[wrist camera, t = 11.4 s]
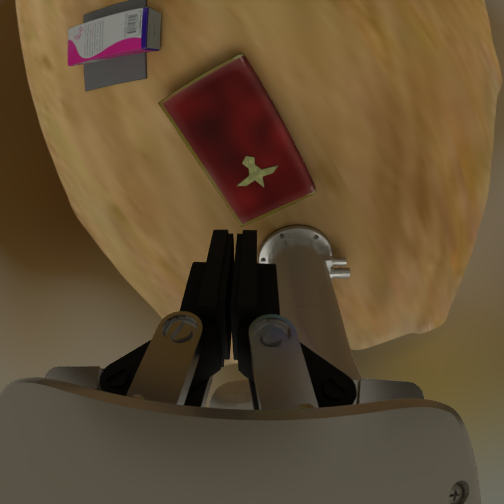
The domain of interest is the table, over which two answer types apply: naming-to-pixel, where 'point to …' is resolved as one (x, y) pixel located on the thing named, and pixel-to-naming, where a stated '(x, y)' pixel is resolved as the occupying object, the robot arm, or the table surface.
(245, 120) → the hardcover book
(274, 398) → the robot arm
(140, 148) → the table surface
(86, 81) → the mat
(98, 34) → the supplement box
